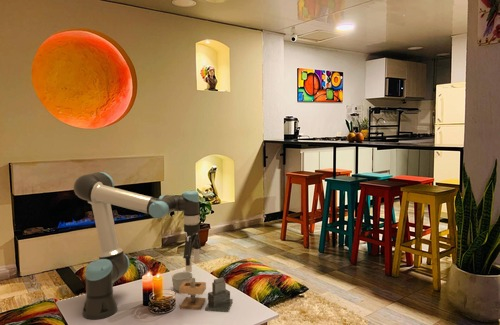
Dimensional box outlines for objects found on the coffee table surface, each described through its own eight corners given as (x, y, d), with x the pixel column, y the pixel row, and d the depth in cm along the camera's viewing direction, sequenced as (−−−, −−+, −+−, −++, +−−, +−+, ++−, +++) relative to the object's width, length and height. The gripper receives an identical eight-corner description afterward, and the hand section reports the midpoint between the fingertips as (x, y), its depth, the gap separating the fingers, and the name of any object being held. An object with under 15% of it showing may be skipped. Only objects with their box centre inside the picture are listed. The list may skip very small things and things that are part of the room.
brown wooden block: (179, 293, 185) (179, 287, 184) (184, 287, 192) (184, 281, 192) (202, 294, 183) (202, 288, 183) (206, 288, 190) (205, 282, 190)
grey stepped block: (205, 310, 182) (204, 282, 181) (210, 300, 192) (210, 274, 191) (228, 312, 180) (227, 283, 179) (232, 301, 191) (232, 275, 190)
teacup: (188, 294, 200) (188, 279, 200) (168, 292, 203) (168, 277, 202) (197, 283, 214) (197, 269, 213) (178, 282, 216) (178, 268, 216)
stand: (179, 308, 184) (179, 282, 183) (186, 299, 194) (185, 274, 193) (200, 309, 182) (199, 283, 181) (205, 300, 192) (205, 275, 191)
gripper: (191, 230, 172) (193, 276, 174) (205, 217, 197) (206, 258, 198) (175, 229, 173) (176, 275, 175) (191, 217, 198) (192, 258, 199)
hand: (192, 266), depth 187 cm, fingers open, 13 cm apart
